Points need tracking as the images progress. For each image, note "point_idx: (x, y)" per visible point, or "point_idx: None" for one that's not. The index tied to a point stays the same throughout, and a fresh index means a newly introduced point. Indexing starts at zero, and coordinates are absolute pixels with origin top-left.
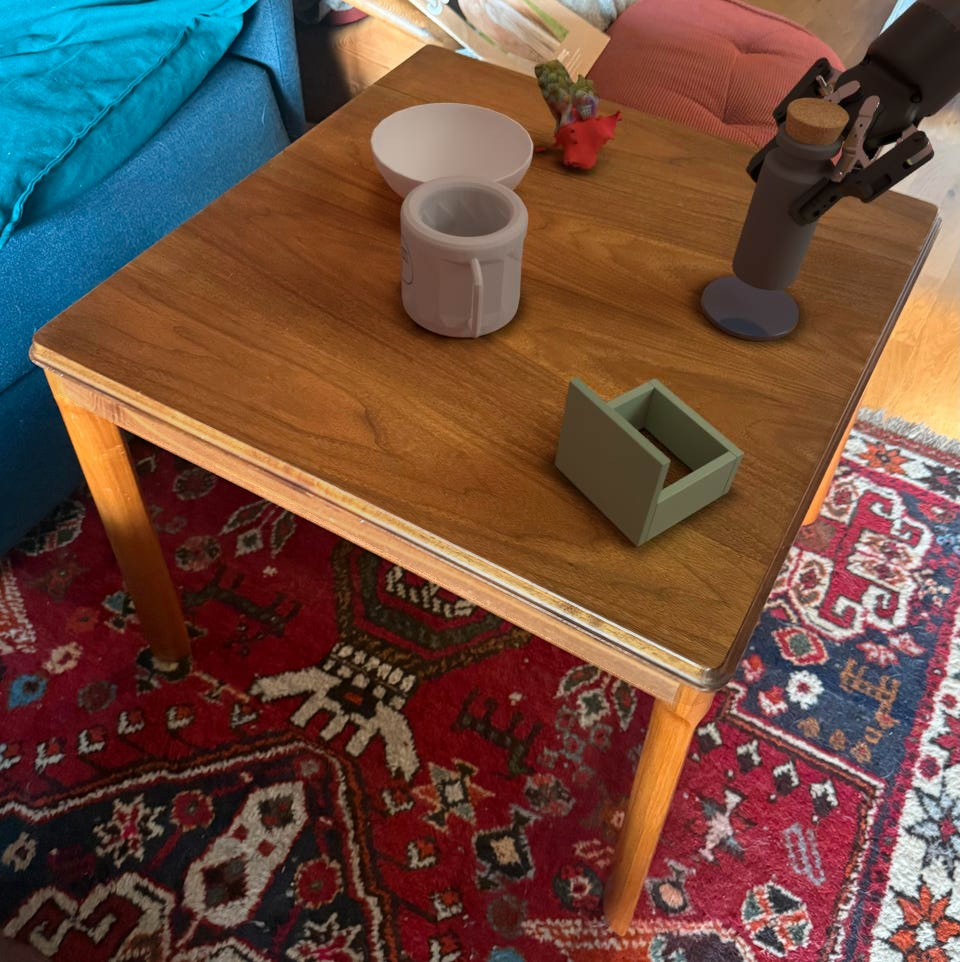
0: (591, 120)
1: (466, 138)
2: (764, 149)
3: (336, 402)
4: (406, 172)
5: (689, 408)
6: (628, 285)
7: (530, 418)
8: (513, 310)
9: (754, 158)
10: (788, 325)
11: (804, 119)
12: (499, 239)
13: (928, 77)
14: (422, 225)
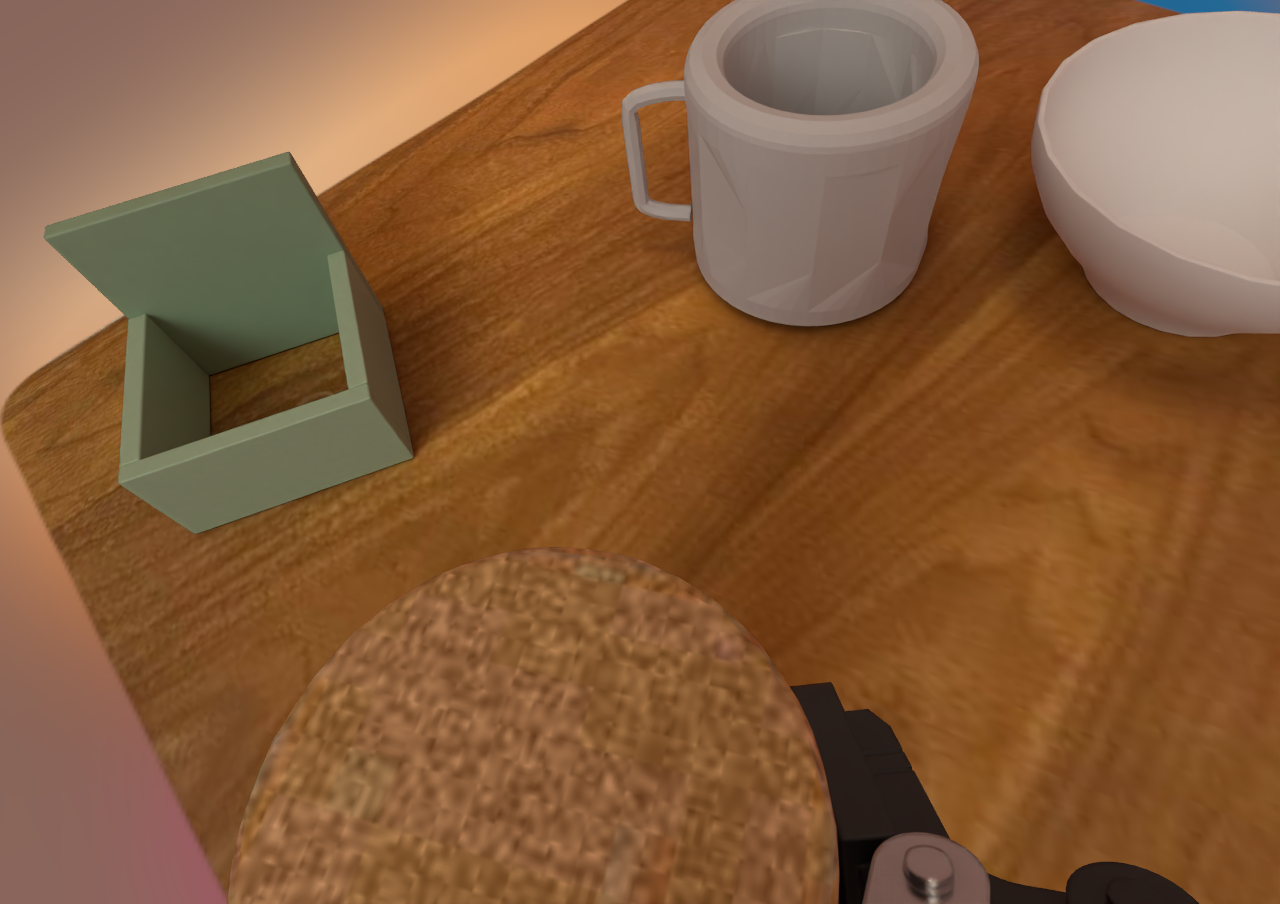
0: None
1: None
2: (893, 775)
3: (604, 105)
4: (1248, 166)
5: (267, 430)
6: (834, 566)
7: (488, 297)
8: (732, 291)
9: (875, 731)
10: None
11: (437, 602)
12: (699, 85)
13: None
14: None
